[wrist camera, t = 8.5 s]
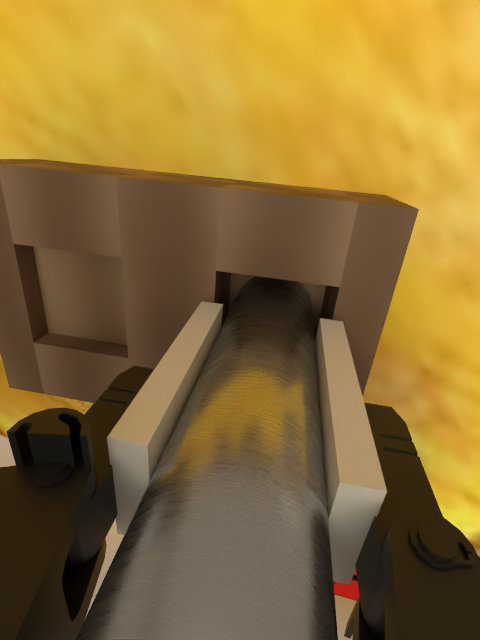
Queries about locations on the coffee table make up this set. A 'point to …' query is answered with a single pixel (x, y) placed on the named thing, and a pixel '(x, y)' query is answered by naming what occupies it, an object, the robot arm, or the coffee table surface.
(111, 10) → the coffee table surface
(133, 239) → the bore block
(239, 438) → the steel pin
